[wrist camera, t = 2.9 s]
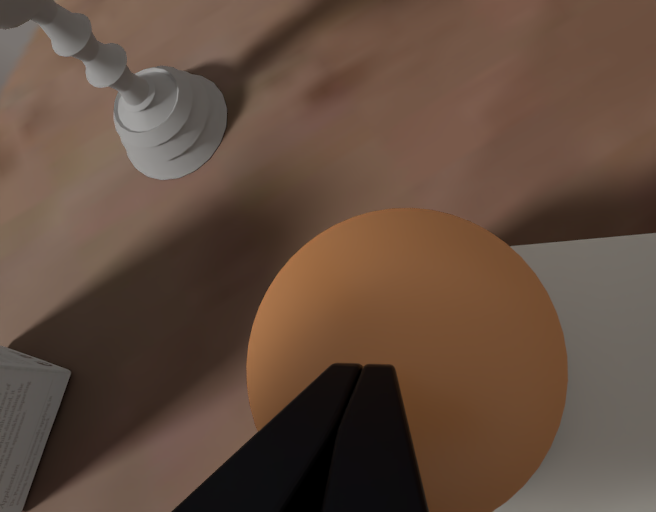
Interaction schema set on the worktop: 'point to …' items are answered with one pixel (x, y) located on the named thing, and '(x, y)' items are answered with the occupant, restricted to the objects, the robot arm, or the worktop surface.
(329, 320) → the orange button
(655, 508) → the button console
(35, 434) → the skincare box
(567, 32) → the worktop surface
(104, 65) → the chalice
